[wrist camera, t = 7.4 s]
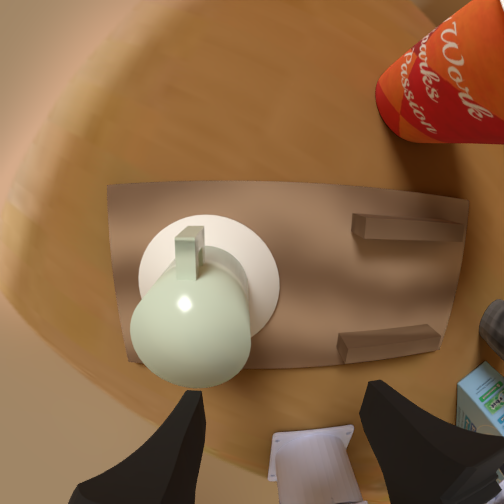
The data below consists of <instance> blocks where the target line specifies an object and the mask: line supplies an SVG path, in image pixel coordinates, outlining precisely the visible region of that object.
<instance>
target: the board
mask: <svg viewBox="0 0 504 504" xmlns="http://www.w3.org/2000/svg"><path fill="white" fill-rule="evenodd" d="M107 201H108V222H109V237H110V249H111V259H112V268H113V277H114V284H115V292H116V298H117V305H118V311H119V317H120V322H121V328H122V333H123V338H124V343H125V348H126V352H127V357H128V361H129V362H135V363H143V362H142V361H141V359H140V358H139V357H138V355H137V353H136V351H135V349H134V346H133V344H132V340H131V334H130V323H131V318H132V315H133V312H134V310H135V308H136V307H137V305H138V304H139V302H140V301H141V300H142V298H141V295H140V290H139V278H138V277H139V268H140V263H141V260H142V257H143V254H144V252H145V250H146V248H147V247H148V245H149V243H150V242H151V241H152V240H153V238H154V237H155V236H156V235H157V234H158V233H159V232H160V231H161V230H163V229H164V228H166V227H167V226H168V225H170V224H172V223H174V222H176V221H178V220H180V219H183V218H186V217H189V216H194V215H204V214H208V215H218V216H223V217H227V218H230V219H233V220H236V221H238V222H240V223H242V224H244V225H245V226H247V227H248V228H250V229H251V230H252V231H254V232H255V233H256V234H257V235H258V236H259V237H260V238H261V239H262V240H263V242H264V243H265V244H266V245H267V247H268V249H269V250H270V252H271V254H272V256H273V258H274V260H275V263H276V266H277V269H278V274H279V287H280V289H279V297H278V301H277V305H276V307H275V310H274V312H273V314H272V316H271V317H270V319H269V321H268V322H267V323H266V324H265V326H264V327H263V328H262V329H261V330H260V331H259V332H258V333H257V334H255V335H254V336H252V337H251V348H250V353H249V357H248V359H247V361H246V363H245V365H244V367H243V368H242V369H275V368H300V367H316V366H329V365H340V364H350V363H359V362H368V361H376V360H383V359H390V358H396V357H402V356H408V355H414V354H420V353H425V352H430V351H435V350H440V347H441V344H442V341H443V338H444V334H445V331H446V328H447V324H448V321H449V317H450V313H451V310H452V306H453V302H454V298H455V293H456V289H457V284H458V280H459V275H460V270H461V264H462V258H463V252H464V246H465V239H466V231H467V222H468V212H469V200H465V199H459V198H452V197H446V196H439V195H432V194H424V193H417V192H409V191H400V190H391V189H381V188H371V187H360V186H348V185H334V184H318V183H299V182H273V181H175V182H150V183H131V184H116V185H107Z"/></svg>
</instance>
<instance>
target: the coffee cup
mask: <svg viewBox="0 0 504 504" xmlns="http://www.w3.org/2000/svg"><path fill="white" fill-rule="evenodd" d="M375 97H376V103H377V107H378V110H379V113H380V115H381V117H382V119H383V120H384V122H385V123H386V125H387V126H388V127H389V128H390V129H391V130H392V131H393V132H394V133H395V134H396V135H397V136H399V137H400V138H402V139H404V140H406V141H409V142H414V143H478V144H504V0H472V1H471V2H469V3H468V4H467V5H466V6H464V7H463V8H461V9H460V10H459V11H457V12H456V13H455V14H454V15H452V16H451V17H449V18H448V19H447V20H446V21H444V22H443V23H442V24H440V25H439V26H438V27H437V28H435V29H434V30H433V31H432V32H430V33H429V34H428V35H427V36H425V37H424V38H423V39H422V40H420V41H419V42H418V43H417V44H416V45H414V46H413V47H412V48H411V49H410V50H408V51H407V52H406V53H405V54H404V55H403V56H401V57H400V58H399V59H398V60H397V61H396V62H394V63H393V64H392V65H391V66H390V67H389V68H388V69H387V70H386V71H385V72H384V73H383V74H382V75H381V77H380V78H379V80H378V82H377V85H376V91H375Z"/></svg>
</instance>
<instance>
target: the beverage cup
mask: <svg viewBox="0 0 504 504" xmlns="http://www.w3.org/2000/svg"><path fill="white" fill-rule="evenodd" d="M479 333H480V336H481V337H482V338H483V339H484V340H485V341H486V342H487V344H488V345H489V346H490V347H491V348H492V349H493V350H494V351H495V352H496V353H497V354H498V355H499V357H500V358H501V359H502V360H503V361H504V301H503V300H501V299H498V300H495V301H494V302H492V303H491V304H490V306H489V307H488V308H487V310H486V311H485V313H484V315H483V317H482V319H481V322H480V327H479Z"/></svg>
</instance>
